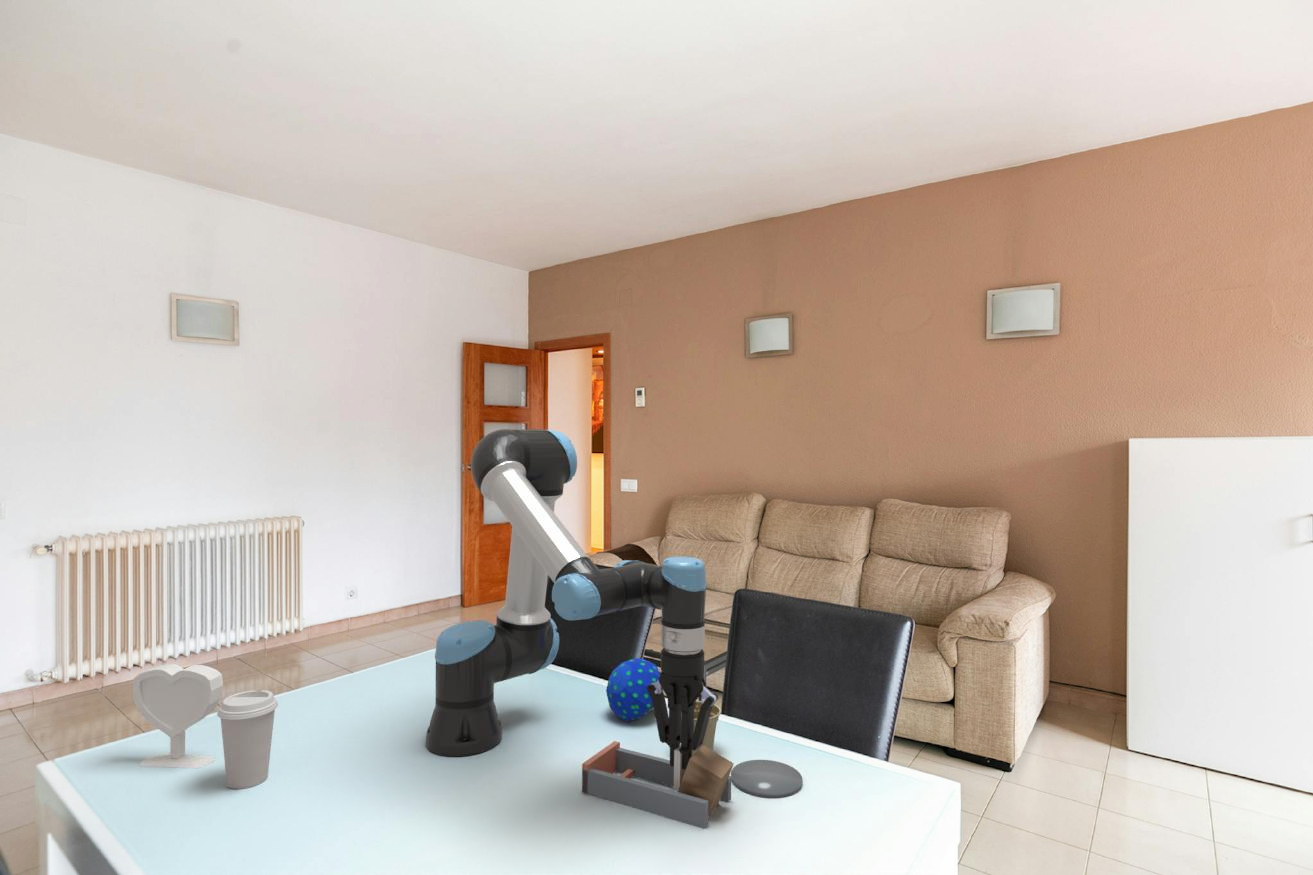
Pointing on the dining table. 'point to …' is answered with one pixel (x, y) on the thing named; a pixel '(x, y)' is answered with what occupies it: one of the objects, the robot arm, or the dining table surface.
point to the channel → (643, 785)
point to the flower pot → (711, 725)
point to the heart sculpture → (177, 707)
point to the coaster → (766, 778)
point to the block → (706, 776)
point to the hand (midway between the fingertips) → (680, 785)
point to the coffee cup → (247, 736)
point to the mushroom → (631, 688)
